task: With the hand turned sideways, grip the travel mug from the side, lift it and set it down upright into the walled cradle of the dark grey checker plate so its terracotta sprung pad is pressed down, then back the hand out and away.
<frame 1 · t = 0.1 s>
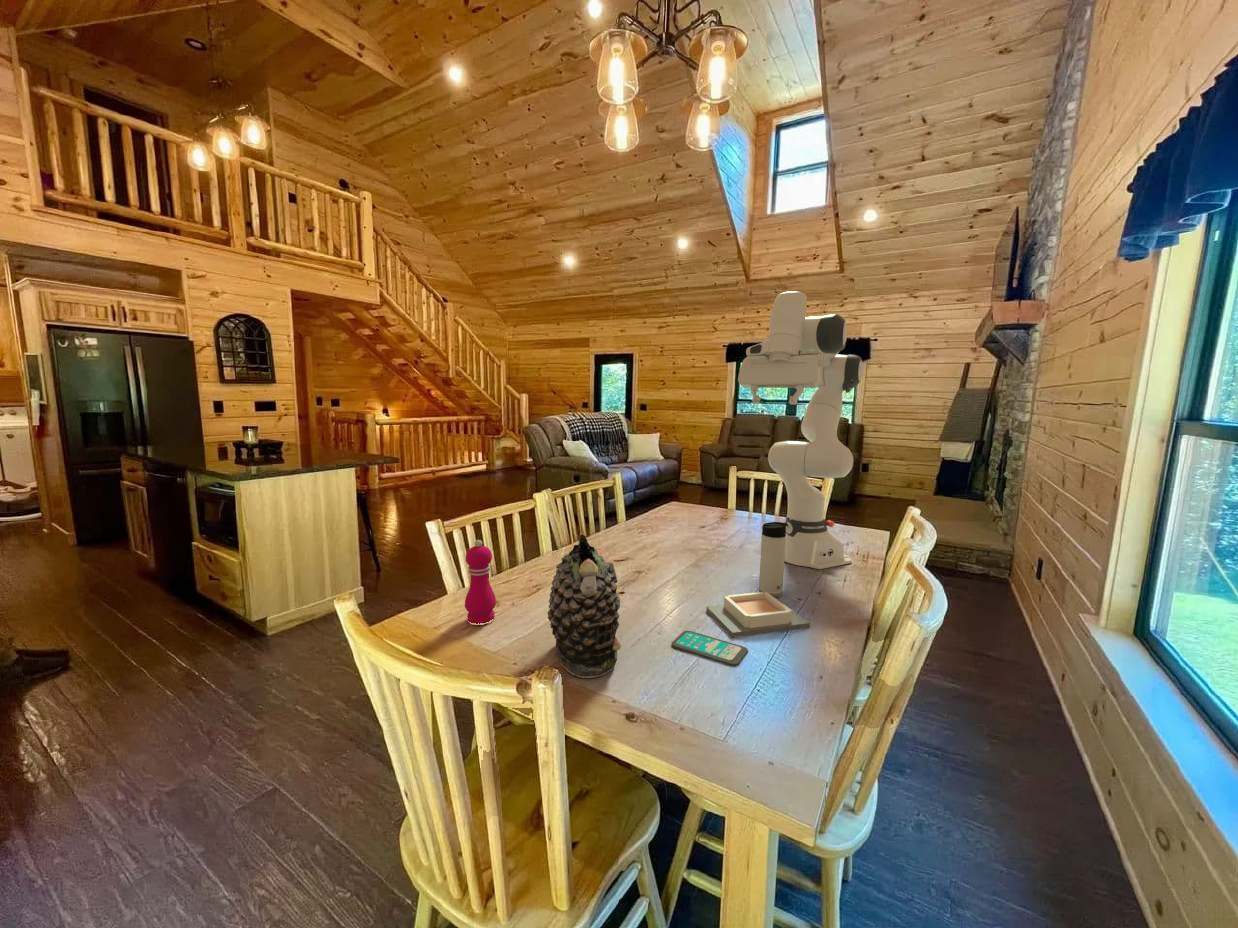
hand: (773, 403, 125), 52 cm above the table, tool tilted 20°, fingers open, 8 cm apart
decorative house: (584, 656, 103), on the table
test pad: (756, 611, 120), point 2 cm above the table, slide at 0.0 cm
smartphone: (709, 650, 107), on the table
travel mug: (771, 593, 136), on the table
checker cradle: (756, 618, 121), on the table
pepper mill: (481, 620, 119), on the table
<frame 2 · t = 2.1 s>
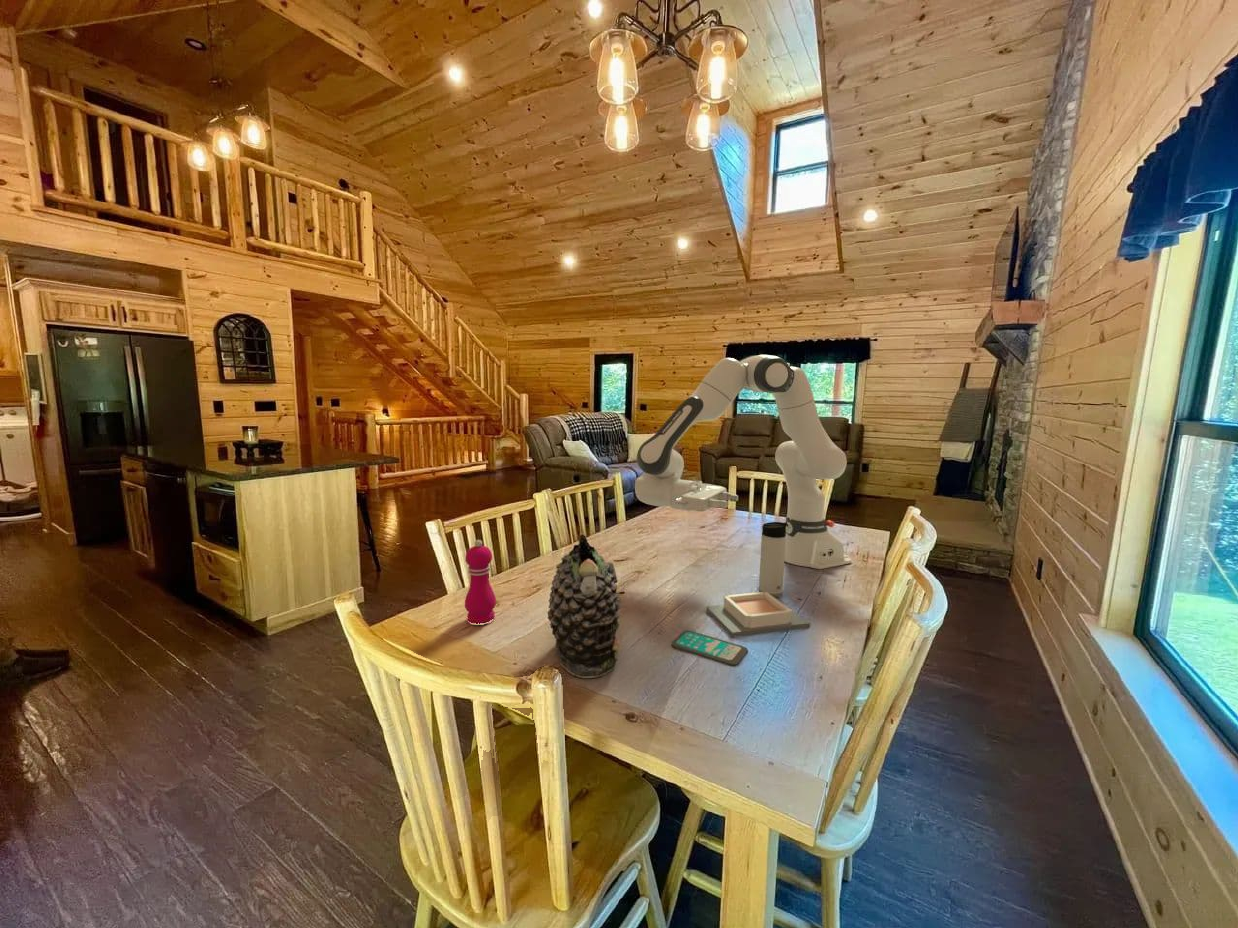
hand: (732, 501, 138), 24 cm above the table, tool horizontal, fingers open, 8 cm apart
nothing on the table moved.
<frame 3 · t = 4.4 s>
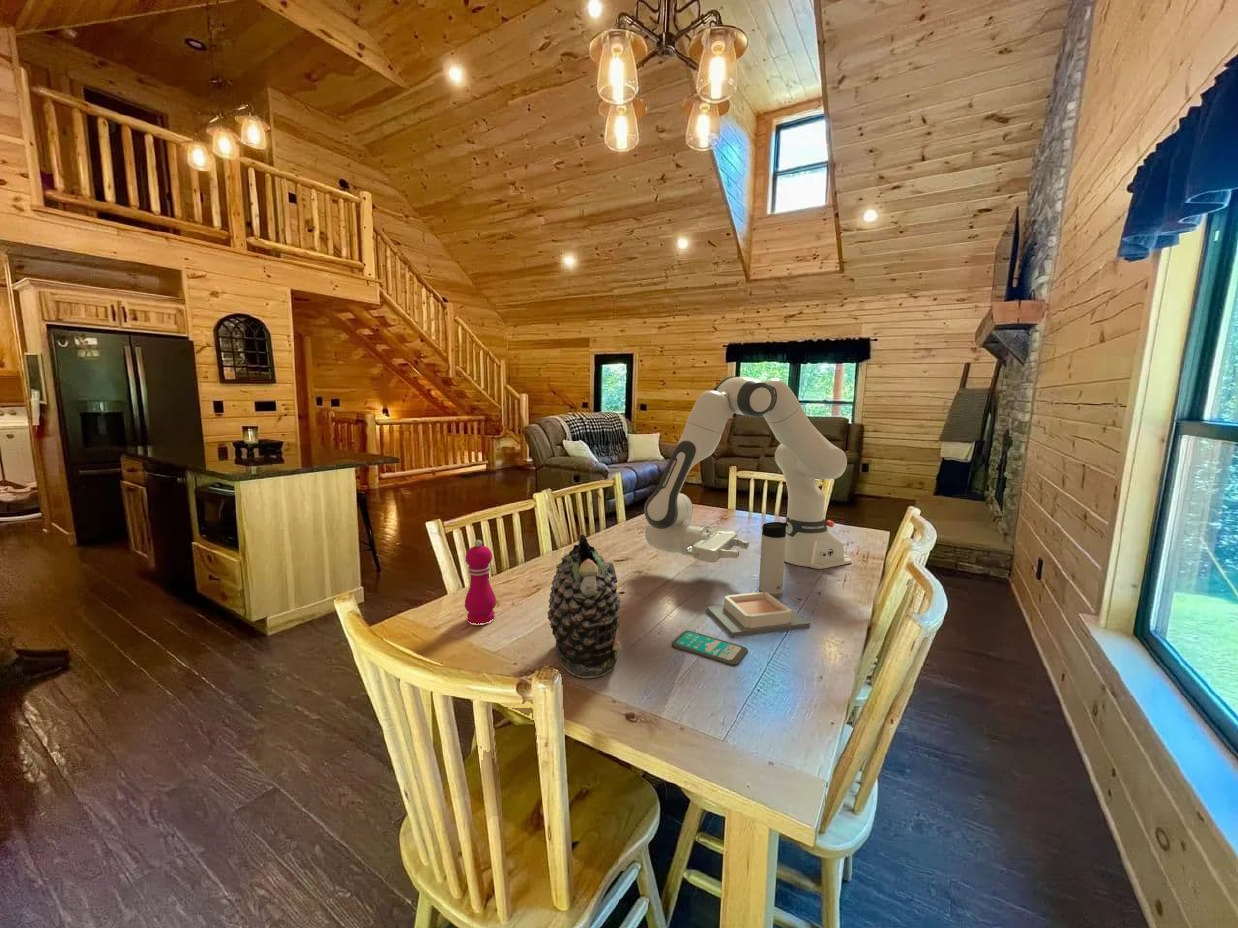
hand: (743, 549, 139), 11 cm above the table, tool horizontal, fingers open, 8 cm apart
nothing on the table moved.
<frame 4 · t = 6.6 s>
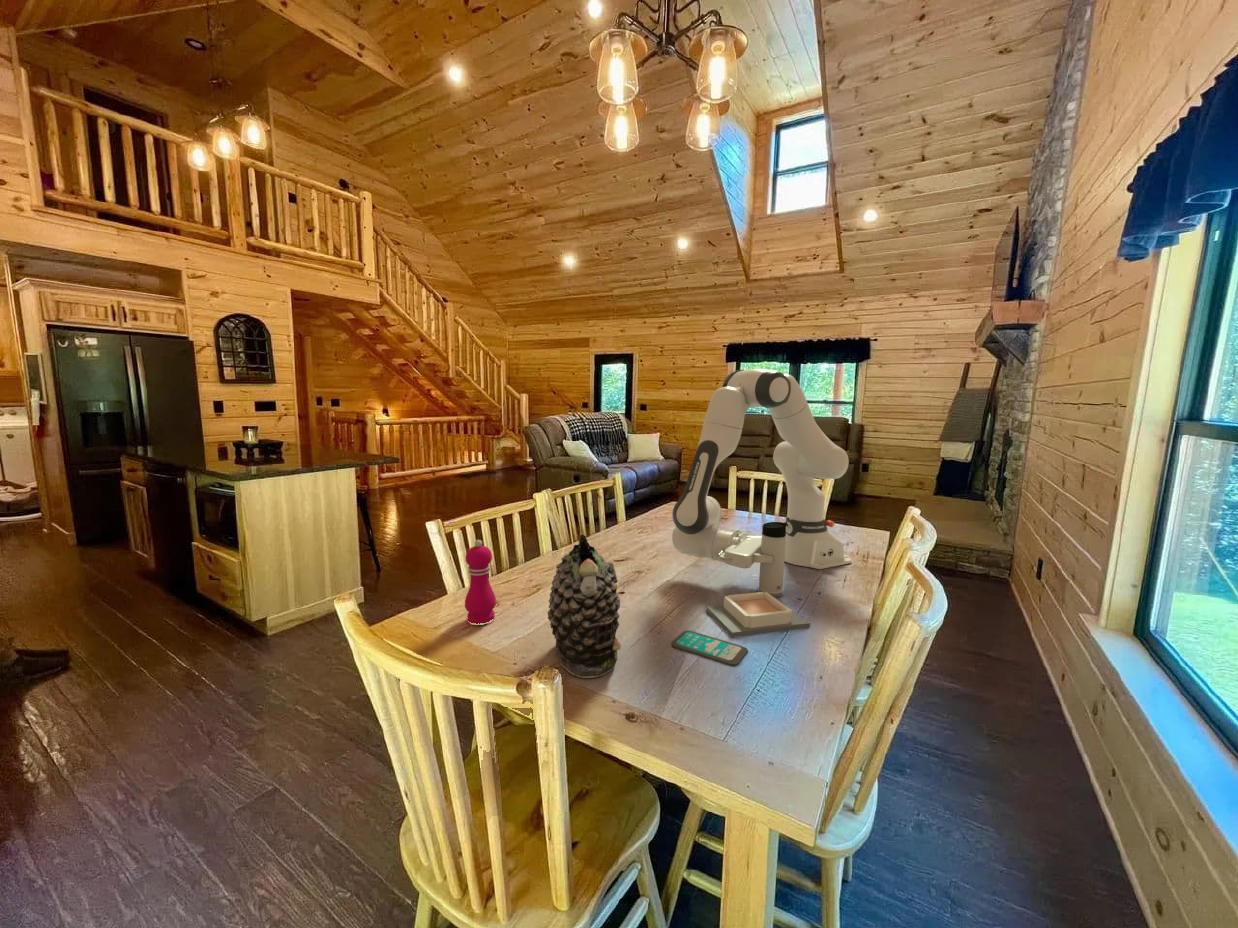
hand: (776, 555, 134), 11 cm above the table, tool horizontal, fingers closed on travel mug, 6 cm apart
travel mug: (771, 593, 136), on the table, touching gripper
everything else where it was.
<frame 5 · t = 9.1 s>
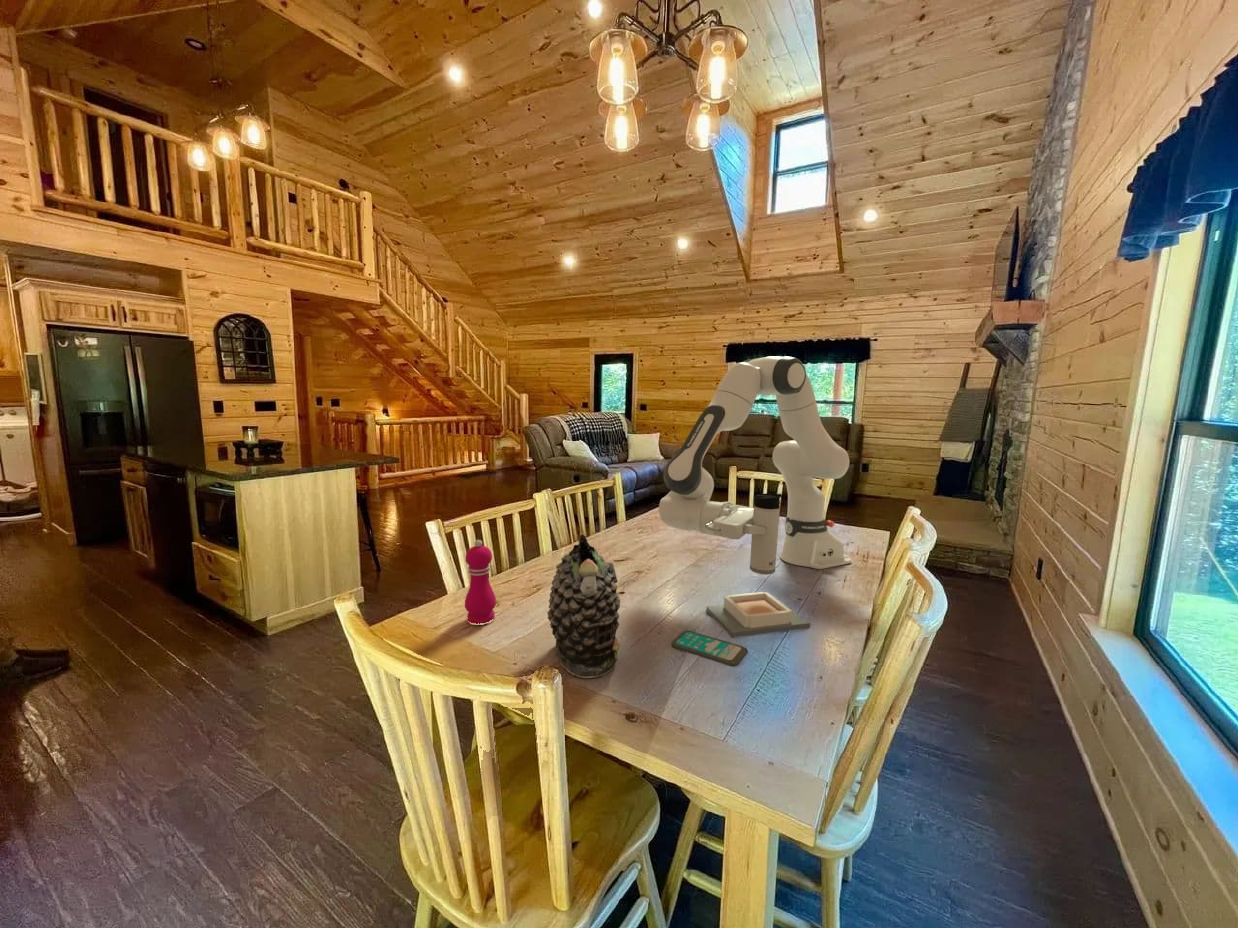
hand: (769, 527, 124), 21 cm above the table, tool horizontal, fingers closed on travel mug, 6 cm apart
travel mug: (762, 571, 126), point 10 cm above the table, touching gripper
everything else where it was.
when the fingers open (15 cm above the table, at t = 11.6 s): travel mug drops 2 cm, resting on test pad.
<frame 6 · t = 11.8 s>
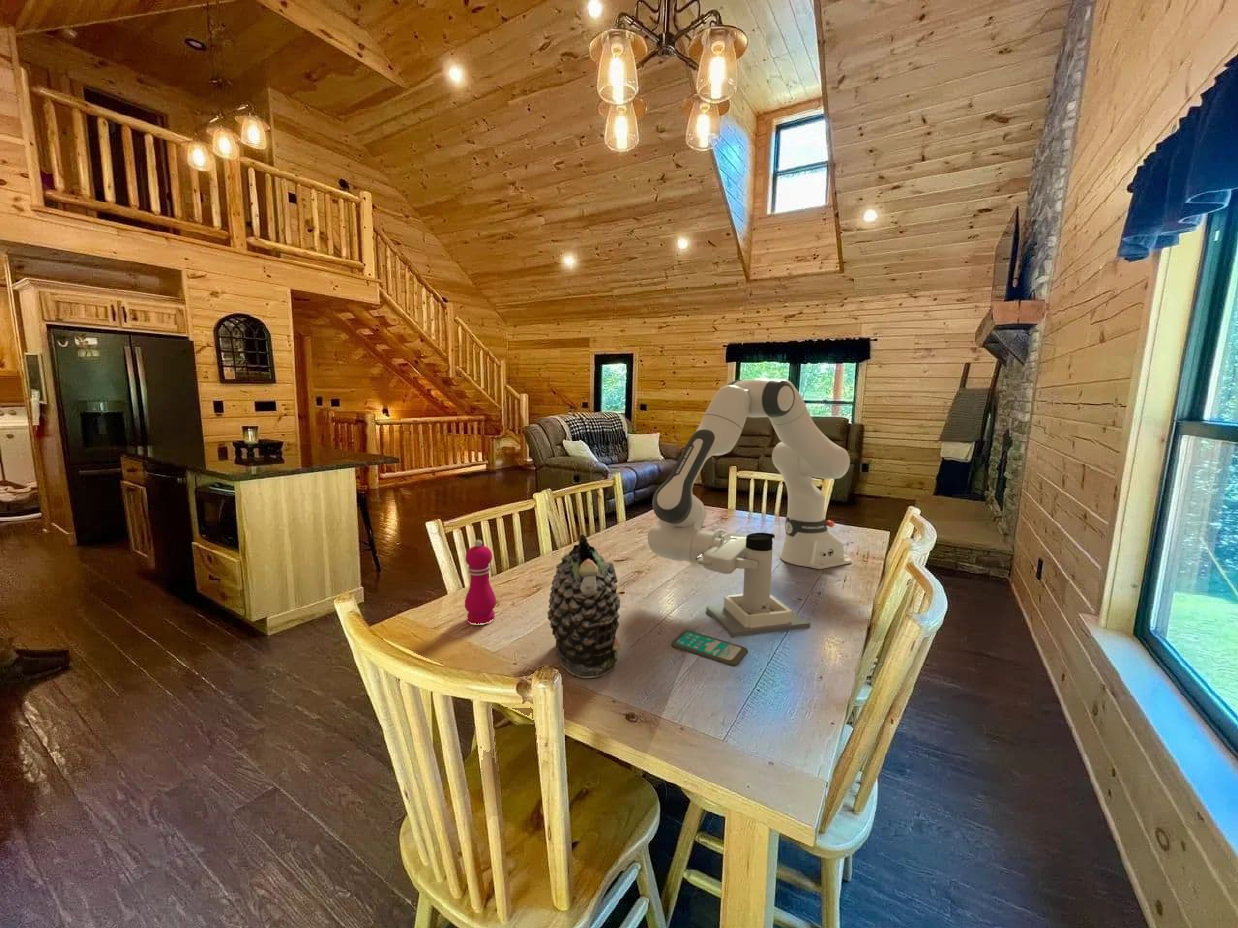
hand: (763, 558, 118), 15 cm above the table, tool horizontal, fingers open, 8 cm apart
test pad: (756, 616, 121), point 1 cm above the table, slide at 1.3 cm, touching travel mug
travel mug: (756, 613, 121), point 1 cm above the table, touching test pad
everything else where it was.
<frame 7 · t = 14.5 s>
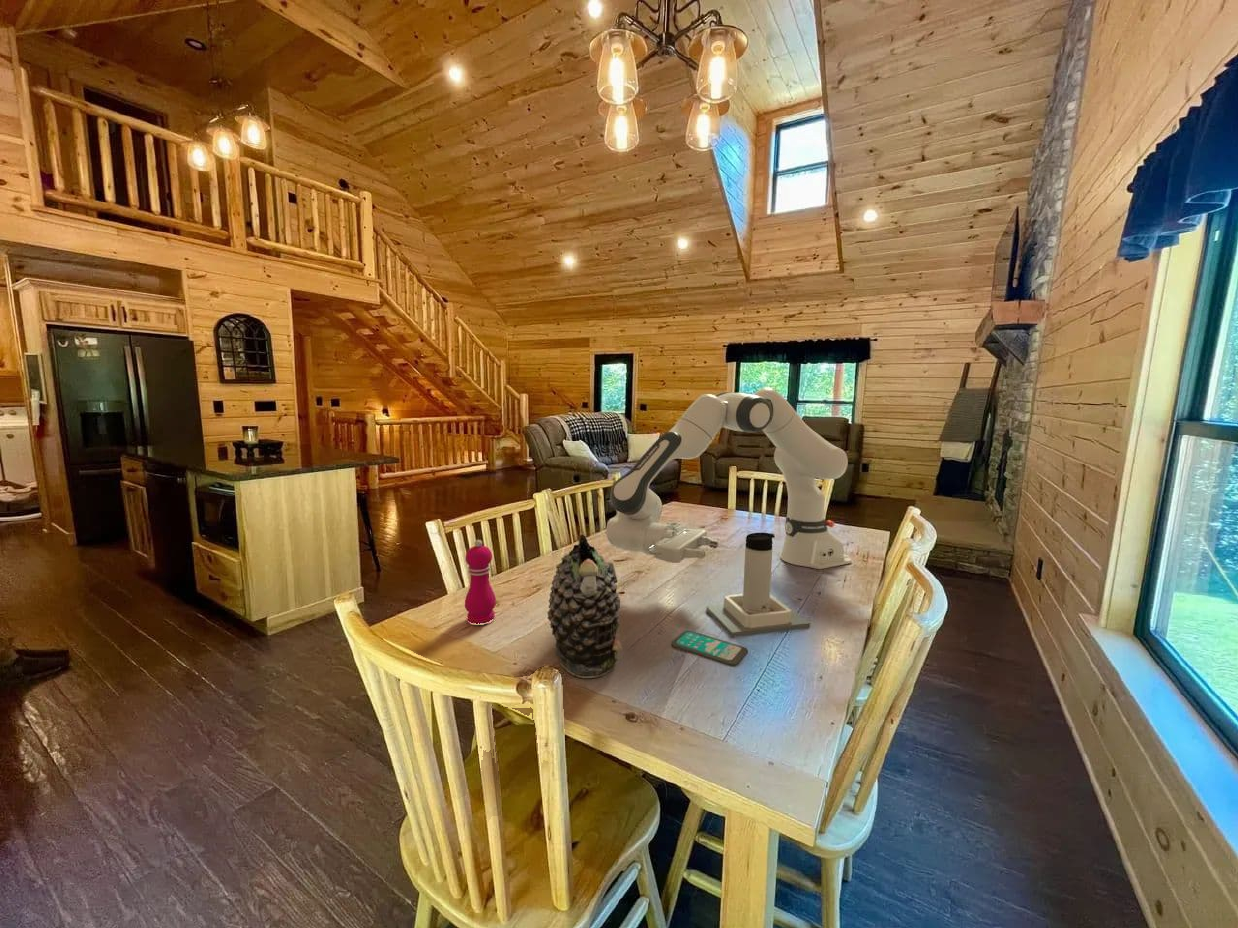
hand: (711, 549, 124), 16 cm above the table, tool horizontal, fingers open, 8 cm apart
nothing on the table moved.
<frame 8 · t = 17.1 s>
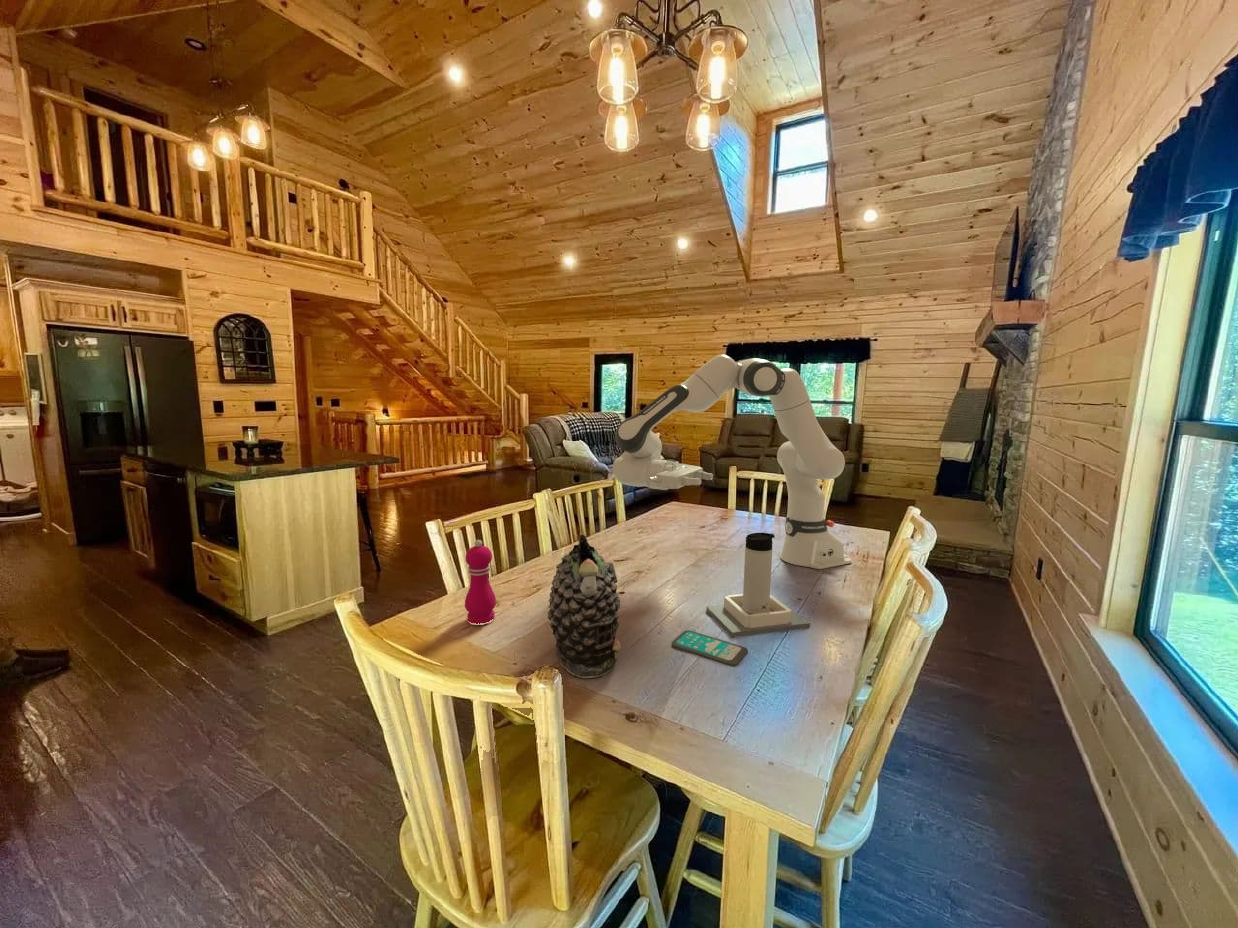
hand: (706, 479, 141), 30 cm above the table, tool horizontal, fingers open, 8 cm apart
nothing on the table moved.
at the end: travel mug 0.1 cm off-centre on the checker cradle, point 1.3 cm above the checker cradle's base; travel mug tilted 0°; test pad slide at 1.3 cm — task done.
